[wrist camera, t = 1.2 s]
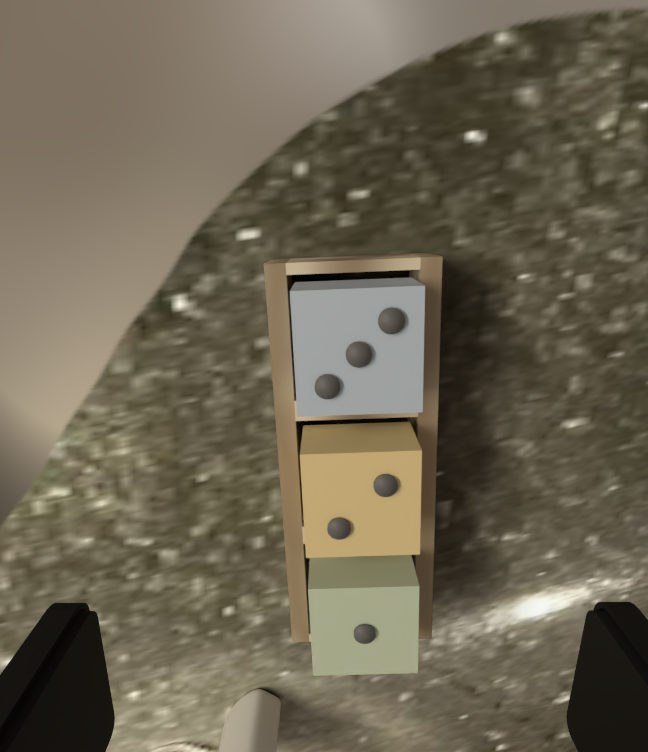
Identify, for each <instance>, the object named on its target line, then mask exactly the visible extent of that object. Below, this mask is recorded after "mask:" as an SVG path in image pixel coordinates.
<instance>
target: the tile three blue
mask: <svg viewBox="0 0 648 752" xmlns="http://www.w3.org/2000/svg"><path fill="white" fill-rule="evenodd" d="M290 304H291V321H292V337H293V353H294V369H295V386H296V402H297V417H308V416H335V415H363V414H391V413H419V412H423V371H424V318H425V285H423V284H422V283H420V282H418V281H417V280H415V279H413V278H412V277H408V278H383V279H359V280H334V281H310V282H295V283H294V285H293V286H292V288H291V290H290Z"/></svg>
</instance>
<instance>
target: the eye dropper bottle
mask: <svg viewBox="0 0 648 752" xmlns="http://www.w3.org/2000/svg"><path fill="white" fill-rule="evenodd" d="M280 710H281V702H280V699H279V698H278V697H276V696H274V695H272V694H270V693H268V692H266V691H264V690H261V689H255V690H253V691H251V692H249V693H248V694H246V695H245V696H243V697H242V698H241V699H240V700H238V701H237V702H236V704H235V705H234V706H233V707H232V709H231V710H230V712H229V714H228V716H227V718H226V721H225V725H224V729H223V733H222V738H221V743H220V748H219V752H276V751H277V741H278V731H279V720H280Z"/></svg>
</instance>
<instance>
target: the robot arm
mask: <svg viewBox="0 0 648 752" xmlns="http://www.w3.org/2000/svg"><path fill="white" fill-rule="evenodd" d="M114 719H115V717H114V709H113V704H112V698H111V692H110V686H109V680H108V674H107V668H106V662H105V656H104V650H103V644H102V639H101V633H100V627H99V621H98V616H97V613H96V612H95V611H90V610H89V607H88V605H87V604H86V603H54V604H52V605H51V606H50V607H49V608H48V609H47V610H46V612H45V613H44V615H43V616H42V617H41V619H40V620H39V622H38V623H37V624H36V626H35V627H34V629H33V630H32V631H31V633H30V634H29V636H28V637H27V638H26V640H25V641H24V643H23V644H22V645H21V647H20V648H19V650H18V651H17V652H16V654H15V655H14V657H13V658H12V659H11V661H10V662H9V664H8V665H7V666H6V668H5V669H4V671H3V672H2V673H1V675H0V752H105V751H106V749H107V746H108V744H109V741H110V739H111V736H112V732H113V728H114ZM567 724H568V729H569V732H570V735H571V738H572V740H573V742H574V744H575V746H576V748H577V750H578V752H648V620H647V618H646V617H645V616H644V615H643V614H642V612H641V611H640V610H639V609H638V608H637V607H636V606H635V605H634V604H632V603H630V602H598V603H597V604H596V605H595V608H594V610H591V611H589V612H588V613H587V615H586V620H585V625H584V630H583V635H582V640H581V645H580V650H579V655H578V660H577V665H576V670H575V675H574V680H573V685H572V690H571V695H570V700H569V705H568V710H567Z"/></svg>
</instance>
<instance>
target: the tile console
mask: <svg viewBox="0 0 648 752" xmlns="http://www.w3.org/2000/svg"><path fill="white" fill-rule="evenodd" d="M442 258H443V256H439V255H435V254H431V253H413V254H389V255H365V256H341V257H317V258H293V259H272V260H270V261H268V262H266V263H265V264H264V272H265V286H266V299H267V312H268V325H269V339H270V352H271V365H272V378H273V392H274V405H275V418H276V432H277V445H278V458H279V471H280V485H281V498H282V511H283V524H284V538H285V551H286V564H287V577H288V591H289V604H290V617H291V631H292V642H311V631H310V614H309V598H308V579H309V558H306V549H305V533H304V516H303V500H302V484H301V467H300V448H301V423H300V421H314V420H342V419H370V418H398V417H408V422H410V423H411V426H412V428H413V430H414V433H415V435H416V438H417V440H418V442H419V445H420V447H421V449H422V476H421V528H420V555H412V559H413V563H414V567H415V571H416V575H417V579H418V583H419V633H418V639H428V638H432V605H433V570H434V535H435V501H436V466H437V431H438V397H439V362H440V327H441V293H442ZM398 270H409V277H412V278H413V279H415V280H417V281H418V282H420V283H422V284H423V285H425V318H424V371H423V412H419V413H391V414H363V415H335V416H308V417H297V402H296V386H295V369H294V353H293V337H292V321H291V304H290V290H291V288H292V275H301V274H326V273H350V272H374V271H398Z"/></svg>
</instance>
